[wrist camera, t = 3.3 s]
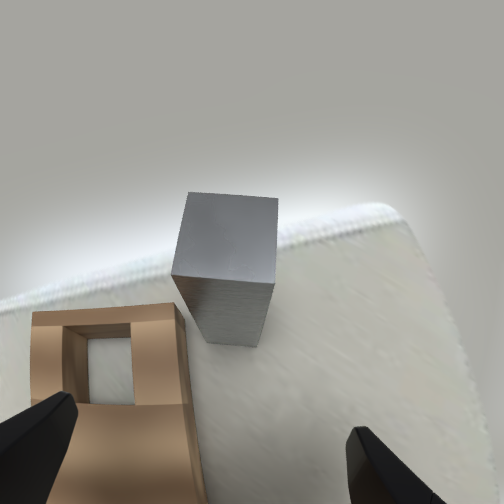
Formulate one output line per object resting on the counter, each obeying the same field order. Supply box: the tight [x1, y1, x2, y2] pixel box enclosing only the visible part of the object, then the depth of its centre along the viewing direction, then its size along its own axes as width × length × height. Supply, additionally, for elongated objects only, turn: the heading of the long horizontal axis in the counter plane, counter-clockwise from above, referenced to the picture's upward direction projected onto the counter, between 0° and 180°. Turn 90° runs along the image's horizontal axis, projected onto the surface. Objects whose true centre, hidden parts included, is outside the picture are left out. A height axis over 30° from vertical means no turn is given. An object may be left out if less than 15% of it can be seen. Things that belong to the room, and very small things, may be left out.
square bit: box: [171, 192, 278, 347], centre depth 17 cm, size 4×4×12 cm
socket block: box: [30, 302, 208, 504], centre depth 16 cm, size 19×11×4 cm, turn 8°
